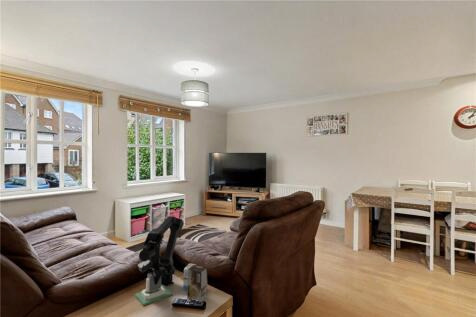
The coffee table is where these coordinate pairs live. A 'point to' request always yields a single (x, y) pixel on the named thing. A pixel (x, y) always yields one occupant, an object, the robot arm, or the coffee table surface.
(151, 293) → the dock
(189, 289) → the coffee box
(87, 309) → the coffee table surface
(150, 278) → the plug
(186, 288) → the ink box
